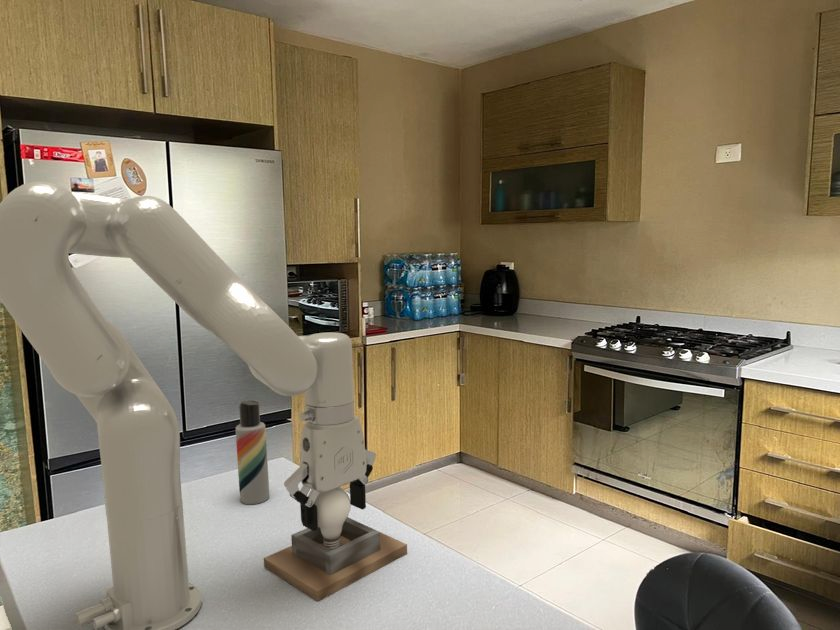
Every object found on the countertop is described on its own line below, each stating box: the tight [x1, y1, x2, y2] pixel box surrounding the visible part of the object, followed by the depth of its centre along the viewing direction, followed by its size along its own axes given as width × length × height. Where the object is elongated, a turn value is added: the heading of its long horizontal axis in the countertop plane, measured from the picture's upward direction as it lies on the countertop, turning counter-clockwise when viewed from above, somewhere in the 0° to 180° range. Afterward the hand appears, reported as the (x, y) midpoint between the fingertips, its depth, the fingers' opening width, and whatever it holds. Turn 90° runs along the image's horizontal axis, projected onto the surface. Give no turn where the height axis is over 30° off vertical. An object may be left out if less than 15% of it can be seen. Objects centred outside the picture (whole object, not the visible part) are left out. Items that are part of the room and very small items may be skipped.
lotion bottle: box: [235, 400, 270, 505], centre depth 123 cm, size 6×6×20 cm
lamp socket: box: [263, 516, 408, 602], centre depth 100 cm, size 18×14×4 cm
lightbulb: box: [313, 486, 352, 550], centre depth 99 cm, size 6×6×11 cm
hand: (334, 516), depth 99 cm, fingers open, 9 cm apart
